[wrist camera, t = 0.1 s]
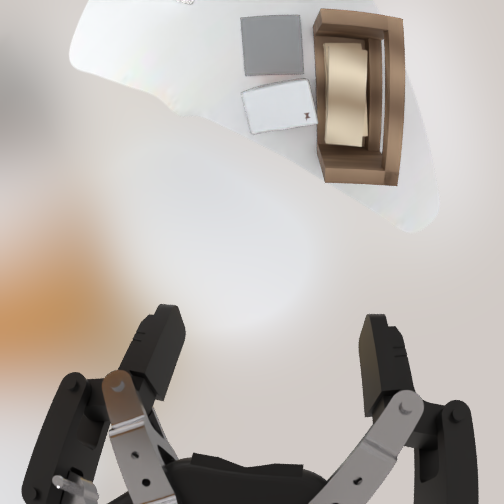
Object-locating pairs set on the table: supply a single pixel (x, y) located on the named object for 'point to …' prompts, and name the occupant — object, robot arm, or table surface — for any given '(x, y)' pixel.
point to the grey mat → (272, 45)
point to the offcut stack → (345, 93)
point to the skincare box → (279, 106)
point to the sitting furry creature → (186, 1)
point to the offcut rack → (368, 156)
